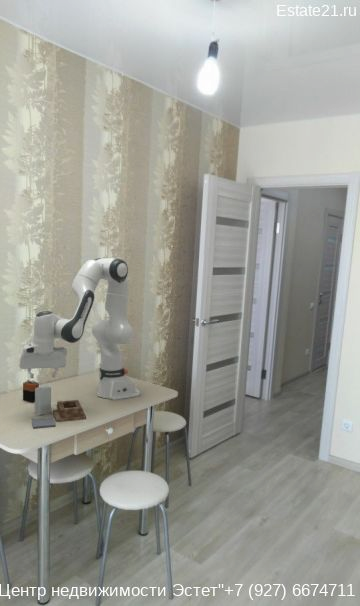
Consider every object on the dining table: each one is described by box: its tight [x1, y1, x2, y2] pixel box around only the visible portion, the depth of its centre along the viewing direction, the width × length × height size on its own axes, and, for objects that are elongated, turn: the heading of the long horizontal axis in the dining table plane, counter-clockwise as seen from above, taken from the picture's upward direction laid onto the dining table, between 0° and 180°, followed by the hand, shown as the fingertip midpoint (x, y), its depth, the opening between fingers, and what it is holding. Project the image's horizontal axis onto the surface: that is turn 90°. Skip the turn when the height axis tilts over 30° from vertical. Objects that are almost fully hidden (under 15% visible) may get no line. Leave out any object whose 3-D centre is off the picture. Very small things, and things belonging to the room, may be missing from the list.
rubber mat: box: [31, 416, 56, 430], centre depth 194 cm, size 9×9×1 cm
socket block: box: [52, 399, 87, 423], centre depth 205 cm, size 13×13×5 cm
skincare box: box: [34, 385, 52, 416], centre depth 206 cm, size 6×4×12 cm
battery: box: [22, 379, 40, 404], centre depth 222 cm, size 4×7×10 cm, turn 64°
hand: (42, 377), depth 204 cm, fingers open, 8 cm apart
